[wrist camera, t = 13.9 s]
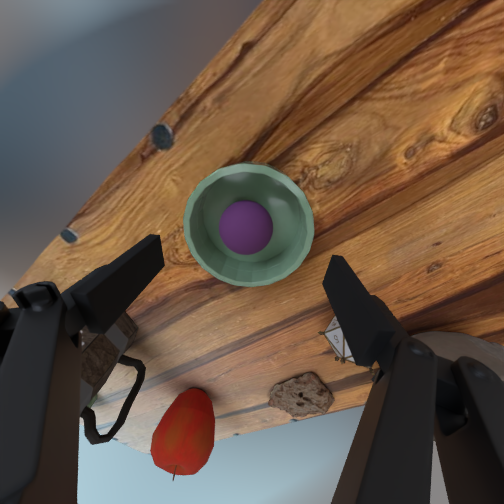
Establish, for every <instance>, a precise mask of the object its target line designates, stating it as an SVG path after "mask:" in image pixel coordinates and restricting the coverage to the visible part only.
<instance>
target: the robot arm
mask: <svg viewBox="0 0 504 504" xmlns="http://www.w3.org/2000/svg"><path fill="white" fill-rule="evenodd" d="M164 266H165V264H164V258H163V252H162V246H161V239H160V235H153V234H149V235H148V236H147V237H145V238H144V239H143V240H141V241H140V242H138V243H137V244H136V245H134V246H133V247H132V248H130V249H129V250H127V251H126V252H125V253H123V254H122V255H121V256H119V257H118V258H116V259H115V260H114V261H112V262H111V263H110V264H108V265H104V266H101V267H99V268H97V269H95V270H94V271H92V272H91V273H89V275H87V276H85V277H84V278H82V280H79V281H78V282H77V283H75V284H74V285H72V286H71V287H69V288H68V289H67V290H65V291H64V292H62V293H61V294H60V292H59V290H58V288H57V287H56V285H55V283H53V282H49V281H44V282H37V283H34V284H30V285H27V286H25V287H23V288H21V289H19V290H18V291H16V292H15V293H14V294H13V295H12V298H13V299H14V301H15V302H16V303H17V305H18V306H19V308H11V309H8V308H7V307H6V305H5V304H4V302H1V301H0V504H77V483H78V450H79V419H80V387H81V355H82V334H81V332H80V330H82V329H83V328H84V327H85V326H87V328H88V330H89V332H90V333H95V334H103V335H104V334H105V333H106V332H107V331H108V330H109V329H110V328H111V326H112V325H113V324H114V323H115V322H116V321H117V320H118V318H119V317H120V316H121V315H122V314H123V313H124V311H125V310H126V309H127V308H128V307H129V306H130V305H131V303H132V302H133V301H134V300H135V299H136V298H137V297H138V295H139V294H140V293H141V292H142V291H143V290H144V289H145V287H146V286H147V285H148V284H149V283H150V282H151V281H152V279H153V278H154V277H155V276H156V275H157V274H158V273H159V271H160V270H161V269H162V268H163V267H164ZM322 285H323V287H324V289H325V292H326V294H327V297H328V299H329V301H330V304H331V306H332V309H333V311H334V313H335V316H336V318H337V321H338V323H339V325H340V328H341V330H342V333H343V335H344V337H345V340H346V342H347V345H348V347H349V349H350V352H351V354H352V357H353V359H354V361H355V364H356V365H358V366H366V367H371V366H372V365H373V364H374V362H375V361H377V362H378V364H379V366H380V369H379V370H378V371H377V373H376V374H375V375H374V377H373V378H372V379H371V380H372V381H373V385H372V388H371V391H370V394H369V397H368V399H367V402H366V405H365V408H364V411H363V414H362V416H361V419H360V422H359V425H358V428H357V431H356V434H355V436H354V440H353V442H352V445H351V448H350V451H349V453H348V457H347V459H346V462H345V465H344V468H343V471H342V473H341V476H340V479H339V482H338V485H337V488H336V491H335V493H334V496H333V499H332V502H331V504H430V489H431V471H432V453H433V436H434V437H435V442H436V446H437V451H438V455H439V460H440V464H441V468H442V473H443V477H444V482H445V486H446V491H447V496H448V500H449V504H504V383H503V381H502V380H501V379H500V377H499V376H498V375H497V374H496V373H495V372H494V371H493V370H491V369H490V368H489V367H488V366H486V365H485V364H483V363H482V362H480V361H478V360H476V359H474V358H471V357H467V356H460V357H459V358H458V359H457V360H456V361H455V362H454V361H451V360H449V359H446V358H443V357H440V356H438V355H436V354H435V353H434V351H433V350H432V349H431V348H430V347H429V346H427V345H426V344H425V343H423V342H422V341H420V340H418V339H415V338H413V337H410V336H409V334H408V333H407V332H406V331H405V329H404V328H403V327H402V325H401V324H400V323H399V321H398V320H397V319H396V318H395V316H393V314H392V312H391V311H390V310H389V308H388V307H387V306H386V305H385V303H384V302H383V301H382V300H381V299H379V298H378V297H377V296H376V295H370V294H369V292H368V291H367V290H366V288H365V287H364V285H363V284H362V283H361V281H360V280H359V278H358V277H357V276H356V274H355V273H354V271H353V270H352V269H351V267H350V266H349V264H348V263H347V262H346V260H345V259H344V257H343V256H338V255H332V257H331V260H330V263H329V266H328V268H327V271H326V274H325V277H324V280H323V283H322Z"/></svg>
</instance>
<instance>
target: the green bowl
mask: <svg viewBox="0 0 504 504" xmlns="http://www.w3.org/2000/svg"><path fill="white" fill-rule="evenodd" d="M242 200H250V201H254V202H257V203H259V204H260V205H262V206H263V207H264V208H265V209H266V210H267V211H268V212H269V214H270V216H271V218H272V221H273V234H272V237H271V240H270V242H269V243H268V244H267V246H266V247H265V248H264V249H262V250H261V251H259V252H257V253H255V254H252V255H241V254H237V253H235V252H233V251H231V250H230V249H228V248H227V247H226V246H225V244H224V243H223V241H222V239H221V237H220V234H219V222H220V218H221V216H222V214H223V212H224V211H225V210H226V208H228V207H229V206H230V205H231V204H233V203H235V202H238V201H242ZM183 224H184V235H185V240H186V242H187V245H188V247H189V249H190V252H191V254H192V256H193V257H194V258H195V259H196V260H197V262H198V263H199V264H200V265H201V267H202V268H204V269H205V270H206V271H207V272H209V273H210V274H212V275H213V276H214V277H216V278H217V279H219V280H222V281H224V282H227V283H230V284H232V285H237V286H246V287H256V286H263V285H269V284H272V283H274V282H277V281H279V280H281V279H284V278H286V277H287V276H288V275H290V274H291V273H292V272H293V271H294V270H296V269H297V268H298V267H299V266H300V265H301V263H302V262H303V260H304V259H305V257H306V256H307V254H308V253H309V251H310V248H311V244H312V240H313V237H314V220H313V212H312V209H311V207H310V205H309V203H308V201H307V198H306V196H305V194H304V192H303V191H302V190H301V189H300V188H299V187H298V186H297V185H296V184H295V183H294V182H293V181H292V180H291V179H290V178H289V177H288V176H287V175H286V174H285V173H284V172H283V171H281V170H279V169H277V168H275V167H273V166H271V165H269V164H267V163H261V162H252V161H244V162H240V163H236V164H232V165H228V166H226V167H223V168H220V169H218V170H217V171H215V172H214V173H212V174H211V175H209V176H208V177H206V178H205V179H203V180H202V181H201V182H200V183H199V184H198V186H197V187H196V188H195V190H194V191H193V193H192V194H191V196H190V197H189V199H188V201H187V205H186V209H185V213H184V217H183Z"/></svg>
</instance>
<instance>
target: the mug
mask: <svg viewBox="0 0 504 504" xmlns="http://www.w3.org/2000/svg"><path fill="white" fill-rule="evenodd" d="M137 330H138V327H137V326H136V325H135V323H134V322H133V321H132V320H131V319H130V317H129V316H128V315H127V314H126V312H125V311H124V313H123V314H122V315H121V316H120V317H119V318H118V320H117V321H116V322H115V323H114V324H113V325H112V326H111V328H110V329H109V330H108V331H107V332H106V333H105V334H104V335H103V334H95V333H90V332H89V330H88V328H87V326H85V327H84V328H83V329H82V330H80V332H81V334H82V355H81V387H80V417H81V418H83V420H84V429H85V430H84V431H85V436H86V437H87V439H88V440H89V442H90V443H91V444H92V445H94V444H99V443H104V442H109V441H110V440H111V439H112V438H113V436H114V435H115V434H116V433H117V432H118V430H119V429H120V428H121V427H122V425H123V424H124V422H125V420H126V418H127V415H128V413H129V411H130V408H131V406H132V404H133V402H134V400H135V398H136V396H137V394H138V392H139V390H140V388H141V385H142V383H143V381H144V378H145V371H146V367H145V366H144V364H143V362H142V361H141V360H138V359H134V358H131V357H128V356H125V355H123V354H124V353H125V351H126V350H127V349H128V348H129V347H130V346H131V345H132V343H133V341H134V339H135V336H136V333H137ZM117 362H118V363H121V364H124V365H127V366H134V367H135V368H136V370H137V371H138V374H137V378H136V382H135V384H134V386H133V387H132V389H131V391H130V393H129V395H128V397H127V399H126V400H125V402H124V404H123V407H122V409H121V411H120V414H119V416H118V418H117V421H116V423H115V424H114V425H113V427H112V428H111V429H110V431H109V432H108V434H105V435H100V434H99V433H98V431H97V429H96V416H95V413H94V411H93V410H92V409H90V408H89V407H88V404H89V403H90V401H91V400H92V399H93V398H94V396H95V395H96V394H97V393H98V391H99V390H100V389H101V388H102V386H103V385H104V384H105V383H106V381H107V379H108V377H109V376H110V374H111V372H112V370H113V369H114V367H115V365H116V364H117Z"/></svg>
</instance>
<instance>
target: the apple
mask: <svg viewBox="0 0 504 504" xmlns="http://www.w3.org/2000/svg"><path fill="white" fill-rule="evenodd" d="M214 433H215V417H214V411H213V405H212V401H211V400H210V398H209V397H208V396H207V394H206V393H205V392H204V391H202V390H200V389H196V388H192V389H189V390H187V391H185V392H182V393H180V394H179V395H178V397H177V398H176V399H175V400H174V402H173V403H172V404H171V406H170V407H169V408H168V410H167V411H166V412H165V414H164V415H163V417H162V419H161V421H160V422H159V424H158V426H157V428H156V430H155V431H154V433H153V436H152V443H151V450H150V451H151V454H152V457H153V461H154V464H155V465H156V466H158V467H159V468H161V469H163V470H165V471H167V472H169V473H172V474H174V475H173V480H174V476H175V475H193V474H195V473H197V472H198V471H199V470H200V469H201V468H202V467H203V466H204V465H205V464H206V463H207V461H208V459H209V456H210V454H211V452H212V449H213V447H214Z"/></svg>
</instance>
